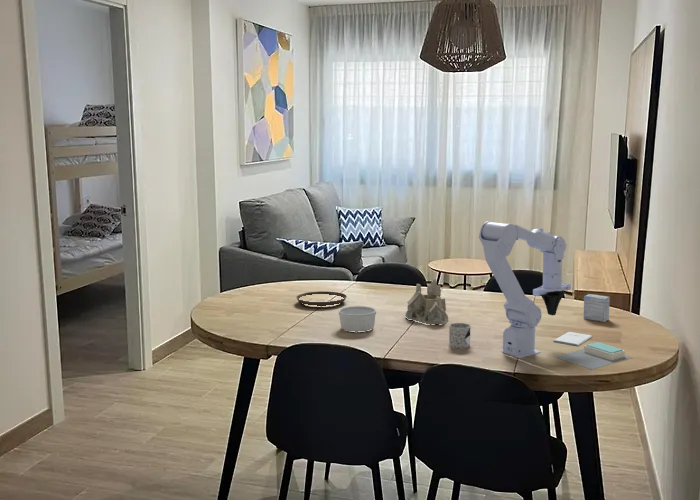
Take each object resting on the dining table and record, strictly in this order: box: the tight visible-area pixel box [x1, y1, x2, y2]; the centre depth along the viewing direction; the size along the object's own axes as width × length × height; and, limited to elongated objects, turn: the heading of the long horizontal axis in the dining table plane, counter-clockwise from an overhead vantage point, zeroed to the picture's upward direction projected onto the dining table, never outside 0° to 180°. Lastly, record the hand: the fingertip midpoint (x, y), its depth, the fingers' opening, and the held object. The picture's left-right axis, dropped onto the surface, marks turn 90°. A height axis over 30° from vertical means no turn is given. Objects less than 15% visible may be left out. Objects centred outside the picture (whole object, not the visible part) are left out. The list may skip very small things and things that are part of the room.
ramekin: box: [338, 305, 377, 332], centre depth 241 cm, size 13×13×7 cm
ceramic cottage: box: [404, 278, 449, 325], centre depth 251 cm, size 16×16×15 cm
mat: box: [553, 348, 633, 371], centre depth 205 cm, size 18×14×1 cm
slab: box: [583, 341, 626, 360], centre depth 208 cm, size 2×10×6 cm
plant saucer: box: [296, 290, 347, 306], centre depth 280 cm, size 21×21×3 cm
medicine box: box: [583, 293, 611, 323], centre depth 248 cm, size 8×4×9 cm, turn 47°
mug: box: [448, 322, 471, 349], centre depth 222 cm, size 10×7×7 cm
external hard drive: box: [552, 331, 593, 347], centre depth 224 cm, size 2×8×12 cm
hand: (551, 314), depth 218 cm, fingers closed
